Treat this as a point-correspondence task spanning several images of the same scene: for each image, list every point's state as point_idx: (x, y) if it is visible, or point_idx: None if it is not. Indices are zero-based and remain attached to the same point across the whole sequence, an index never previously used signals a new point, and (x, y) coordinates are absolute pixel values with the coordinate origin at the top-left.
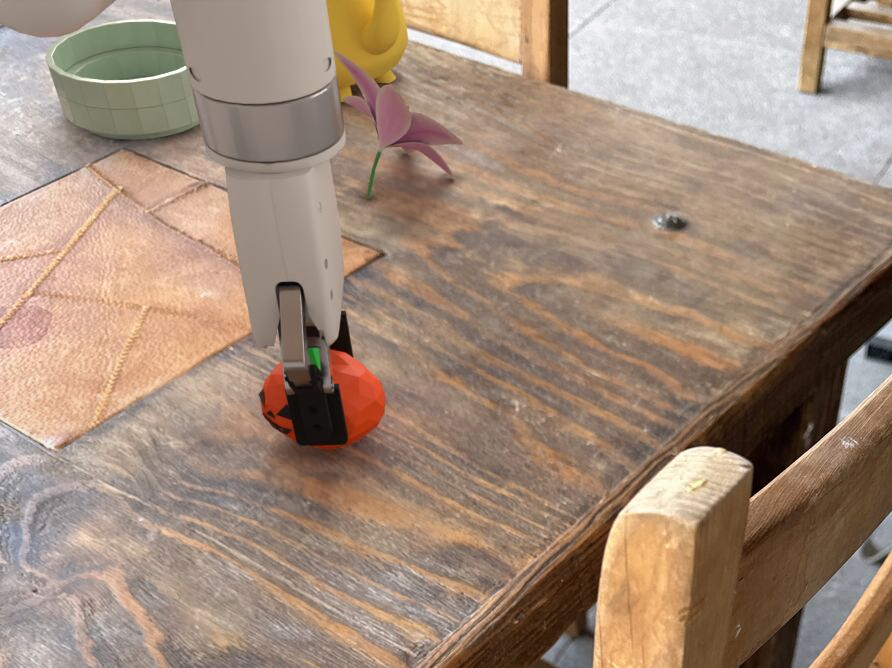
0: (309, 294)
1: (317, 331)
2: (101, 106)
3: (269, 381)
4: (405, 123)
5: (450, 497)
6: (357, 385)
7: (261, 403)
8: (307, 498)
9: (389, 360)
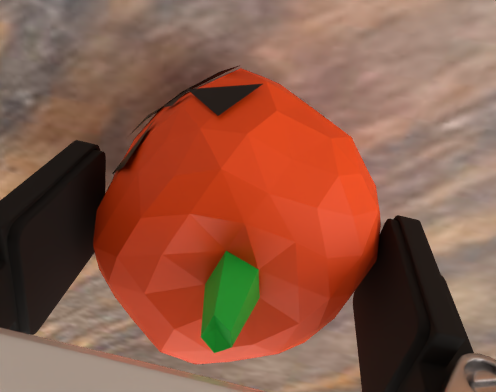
0: None
1: (390, 333)
2: None
3: (209, 148)
4: None
5: None
6: (146, 335)
7: (231, 83)
8: (43, 101)
9: (463, 322)
